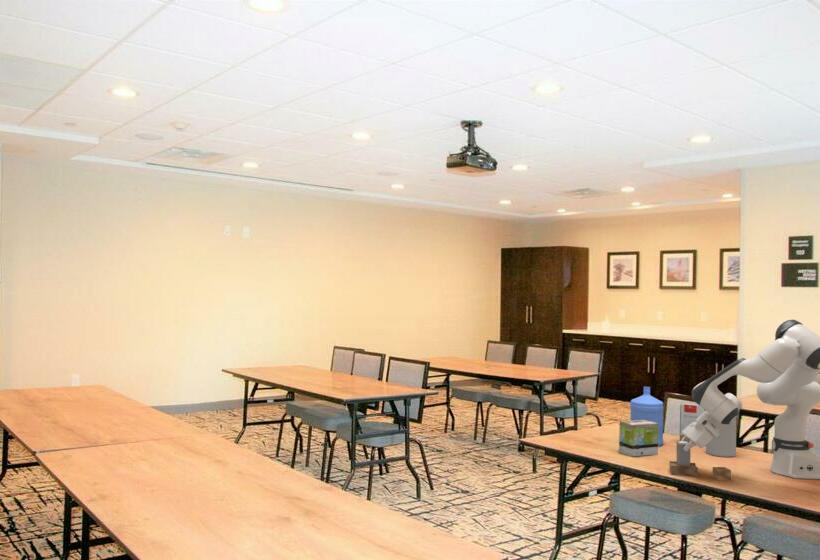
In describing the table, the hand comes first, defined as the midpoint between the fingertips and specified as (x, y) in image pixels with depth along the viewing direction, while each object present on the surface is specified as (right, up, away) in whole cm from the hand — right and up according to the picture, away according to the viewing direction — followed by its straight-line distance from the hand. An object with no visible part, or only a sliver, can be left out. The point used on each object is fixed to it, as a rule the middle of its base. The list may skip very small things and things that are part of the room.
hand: (681, 447), depth 269 cm
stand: (0, -10, 0) cm, 10 cm away
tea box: (-6, -11, +33) cm, 35 cm away
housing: (0, -7, 0) cm, 7 cm away
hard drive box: (+30, -12, +54) cm, 64 cm away
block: (+13, -11, -7) cm, 18 cm away
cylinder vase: (+32, -12, +34) cm, 49 cm away
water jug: (+5, -12, +55) cm, 56 cm away
